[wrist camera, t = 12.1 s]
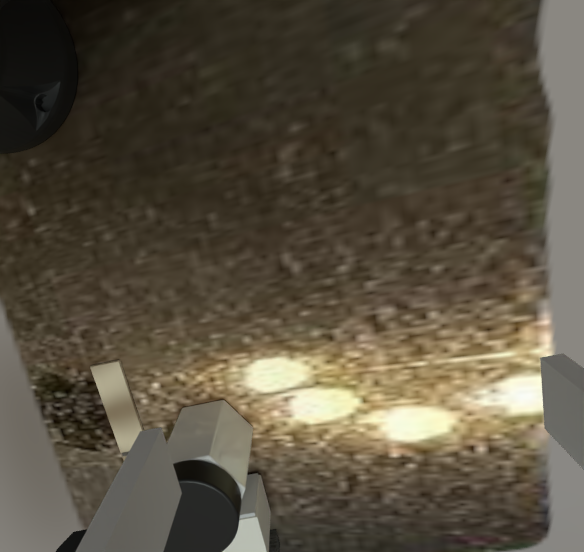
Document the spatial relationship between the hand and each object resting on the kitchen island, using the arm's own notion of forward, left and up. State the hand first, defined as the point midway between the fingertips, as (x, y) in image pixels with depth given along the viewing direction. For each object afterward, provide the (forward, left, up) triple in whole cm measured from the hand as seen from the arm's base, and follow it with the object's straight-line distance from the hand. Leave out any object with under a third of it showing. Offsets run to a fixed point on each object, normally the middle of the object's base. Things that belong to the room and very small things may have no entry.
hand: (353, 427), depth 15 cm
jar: (+17, -14, -29) cm, 37 cm away
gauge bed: (+19, -23, -29) cm, 41 cm away
